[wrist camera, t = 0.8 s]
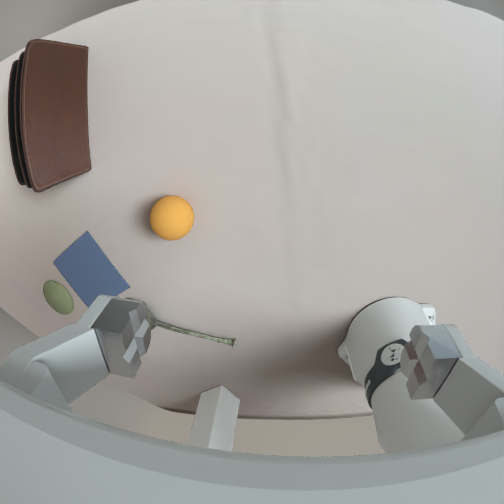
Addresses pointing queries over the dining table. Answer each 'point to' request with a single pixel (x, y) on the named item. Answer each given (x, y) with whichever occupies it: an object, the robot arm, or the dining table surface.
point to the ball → (171, 217)
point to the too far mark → (58, 297)
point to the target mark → (89, 270)
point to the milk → (215, 420)
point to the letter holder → (49, 114)
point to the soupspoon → (154, 323)
